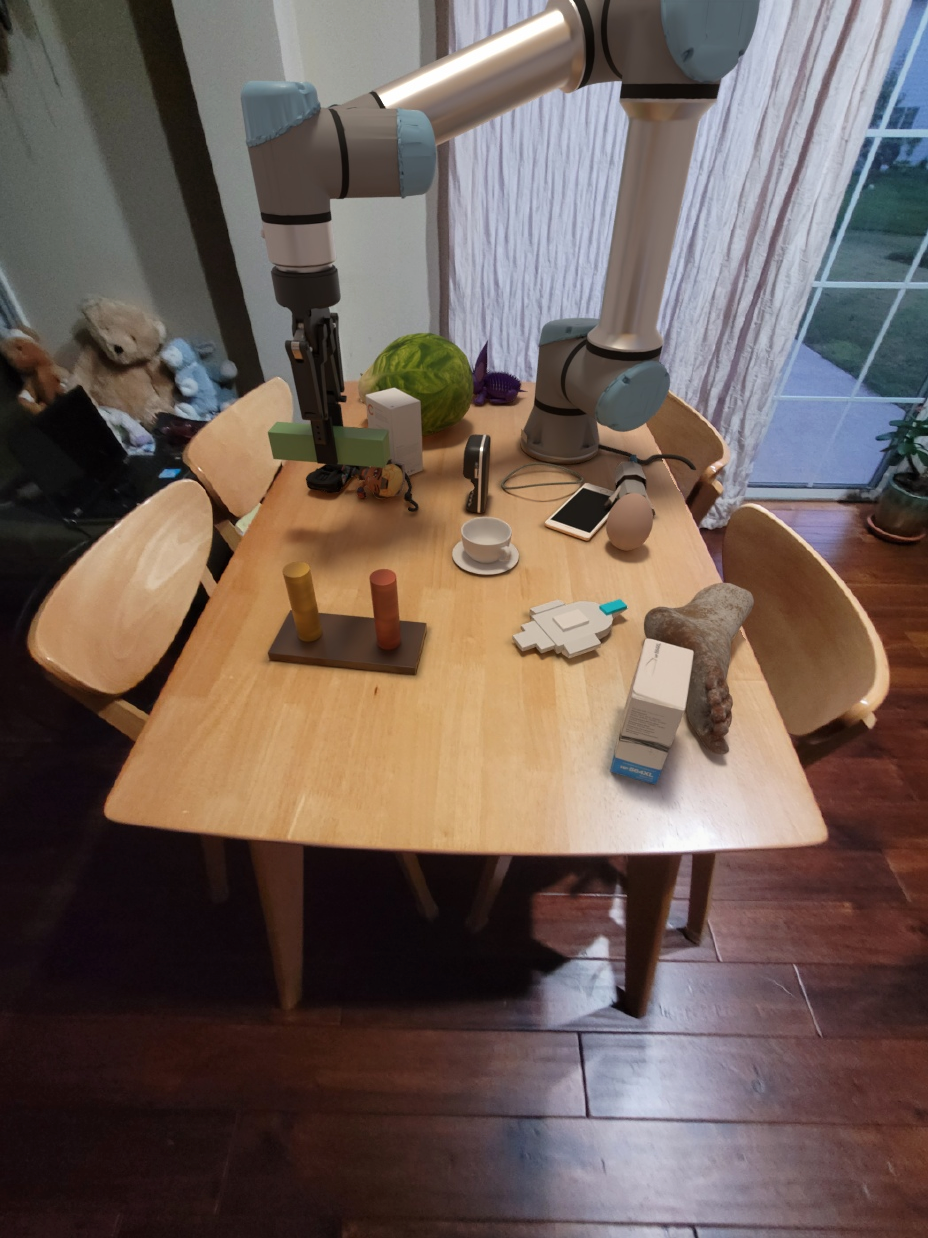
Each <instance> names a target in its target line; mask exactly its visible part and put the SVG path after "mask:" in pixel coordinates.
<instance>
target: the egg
mask: <svg viewBox="0 0 928 1238" xmlns="http://www.w3.org/2000/svg"><path fill="white" fill-rule="evenodd" d="M652 509H653V508H651V506H650V503H649V501H648V500H647V499H646V498H645V497H644V496H642V495H641V494H638V493H630V494H627V495H624V496H623V497H621V498H620V499H619V500H618V501H617V502H616V503H615V504H614V506H613V507H612V509H611V510H610V512H609V515H608V518H607V520H606V522H605V531H606V535H607V538H608V540H609V541H610V543H611V544H612V545H613V546H614V547H615V548H617V549H618V550H621V551H632V550H635V549H637V548H639V547H640V546H642V545H643V544H644V543H645V542H647V540H648V539H649V538H650V534H651V533H652V529H653V525H654V516H653V513H652Z"/></svg>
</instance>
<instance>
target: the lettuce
mask: <svg viewBox="0 0 928 1238" xmlns="http://www.w3.org/2000/svg"><path fill="white" fill-rule="evenodd" d="M472 372H473V369H472V366H471V365H470V362H469V359H468V356H467V355H466V353H465V352H464V351H463V350H462V349H461V348H460V347H459V346H458V345H457V344H455V342H452V341H450V340H449V339H448V338H446V337H444V336H441V335H439V334H436V333H432V332H417V333H410V334H405V335H402V336H399V337H397V338H396V339H395V340H393V341H392V342H390V343H389V344H388V345H387V346H385V348H384V349H383V350H382V351H381V352H380V353H379V354H378V356H376V358H375V360H374V361H373V363H372V364H371V365H369V367H368V368H367V369H366V370H365V371H364V372H363V373H362V374H363V375H362V377H361V376H360V378H359V380H358V383H357V391H358V396H359V398H360V399H361V400H362V401H363V402H362V403H363V404H364V405H365V406H366V397H365V395H367V394H371V393H375V392H379V391H383V390H387V389H391V388H396V389H398V390H400V391H402V392H404V393H406V394H408V395H410V396H412V397H414V398H416V399H417V400H420V401H421V428H422V438H423V437H426V436H431V435H434V434H436V433H440V432H442V431H444V430H446V429H447V428H450V427H452V426H454V425H456V424H459V423H460V422H461V421H462V420H463V418H464V417H465V416H466V414H467V413H468V412H469V410H470V408H471V405H472V404H471V403H472V401H473V396H474V394H473V375H472ZM360 399H359V400H360Z"/></svg>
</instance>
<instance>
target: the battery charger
mask: <svg viewBox="0 0 928 1238" xmlns="http://www.w3.org/2000/svg"><path fill="white" fill-rule="evenodd" d="M491 438H492V437H491V436H490V435H489V434H477V433H474V434H471V435H469V437H468V438H467V440H466V444H465V447H464V451H463V459H462V460H463V461H462V477H463V478H464V479H466V480H470V481H469V482H470V483H471V484H472V485H473V489H472V490H470V491H469V493H468V497H467V501H466V505H465V506H466V511H469V512H473V513H477V514H482V513H484V512H485V510H486V505H487V500H488V496H489V482H490V465H491V463H490V462H491V445H492V444H491V442H492V439H491Z"/></svg>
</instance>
